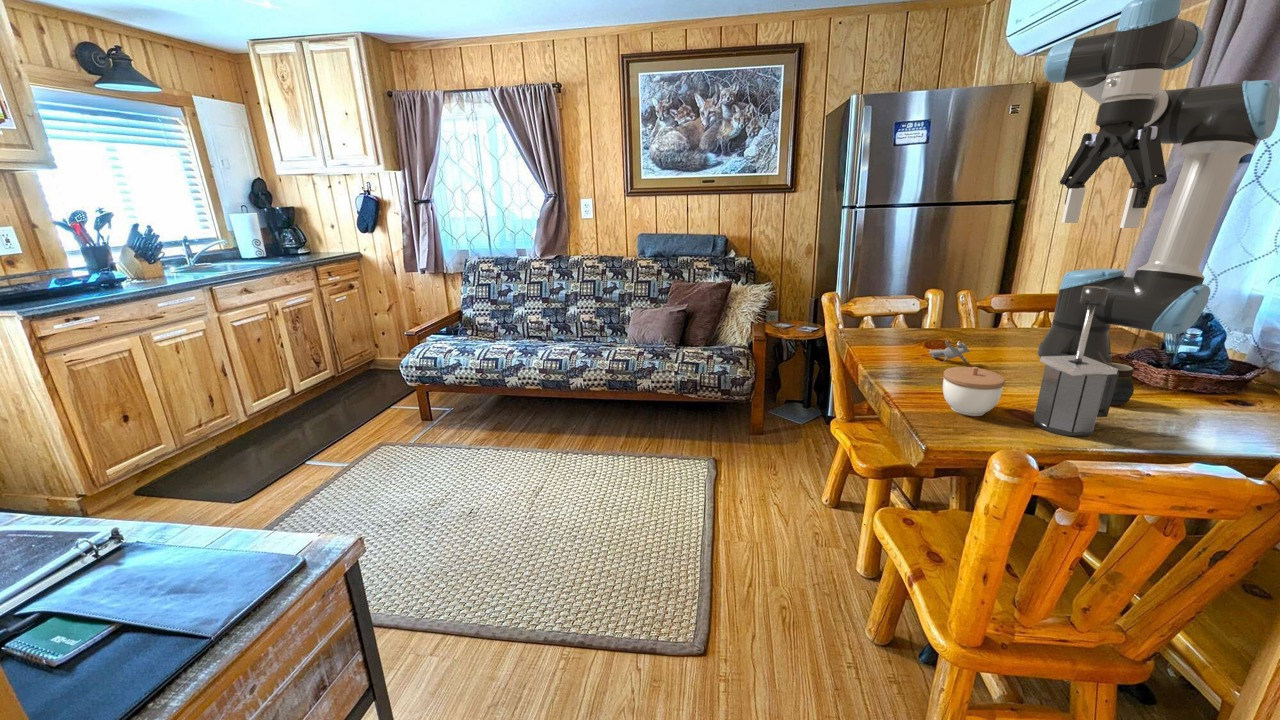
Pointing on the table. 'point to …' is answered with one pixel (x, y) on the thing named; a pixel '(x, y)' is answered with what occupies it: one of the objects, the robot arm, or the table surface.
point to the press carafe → (1074, 395)
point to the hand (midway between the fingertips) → (1097, 225)
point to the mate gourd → (1121, 383)
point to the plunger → (1089, 314)
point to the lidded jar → (972, 390)
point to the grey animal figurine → (950, 351)
